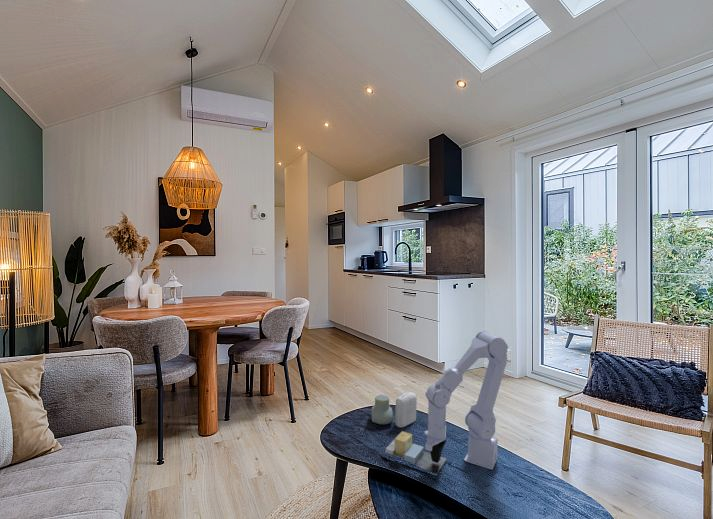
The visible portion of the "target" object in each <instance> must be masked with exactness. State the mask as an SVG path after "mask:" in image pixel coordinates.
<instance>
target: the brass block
mask: <svg viewBox="0 0 713 519" xmlns="http://www.w3.org/2000/svg"><path fill="white" fill-rule="evenodd" d="M394 439H395V453H394V455H396V456H399V457H402V458H404V454H405V453H406V452H407V450H408V449H409V448H410V447H411V446H412V445H413V434H412V433H410V432H406V431H403V430H402V431H400V433H399V434H397V436H396V437H394Z"/></svg>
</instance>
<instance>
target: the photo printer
mask: <svg viewBox="0 0 713 519" xmlns="http://www.w3.org/2000/svg"><path fill="white" fill-rule="evenodd" d="M417 399H418V398H417V394H416V393H415V392H411V391H409V392H405V393H403V394H401V395H400V396H398V397H397V398H396V400H395V411H394V412H395V418H394V420H395V422H394V423H395V426H396V427H397V428H404V427H406V426H408V425H411V424H413V423H414V422H416V420H417V404H418V403H417V401H418V400H417Z"/></svg>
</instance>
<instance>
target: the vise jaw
mask: <svg viewBox="0 0 713 519" xmlns="http://www.w3.org/2000/svg"><path fill="white" fill-rule="evenodd" d="M424 451H425V447H424V446H423V445H419V444H416V443H412V446H411V447H410V448H409V449H408V450H407V452H406V453H405V454H404V460H405V461H408V462H411V463H414V464H415V463H416V462H417V460H418V459H419V458H420V457H421V455H422V454H423V453H424Z"/></svg>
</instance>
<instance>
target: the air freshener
mask: <svg viewBox="0 0 713 519" xmlns="http://www.w3.org/2000/svg"><path fill="white" fill-rule="evenodd" d="M389 397H390V396H387V395H385V394H379V395H377V396H375V397H374V405H373V406H372V407H371V421H372V422H373V423H375V424H377V425H388V424H390V423H392V422H393V419H394V418H393V416H394V415H393V408H392V407H391V406H390V398H389Z"/></svg>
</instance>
